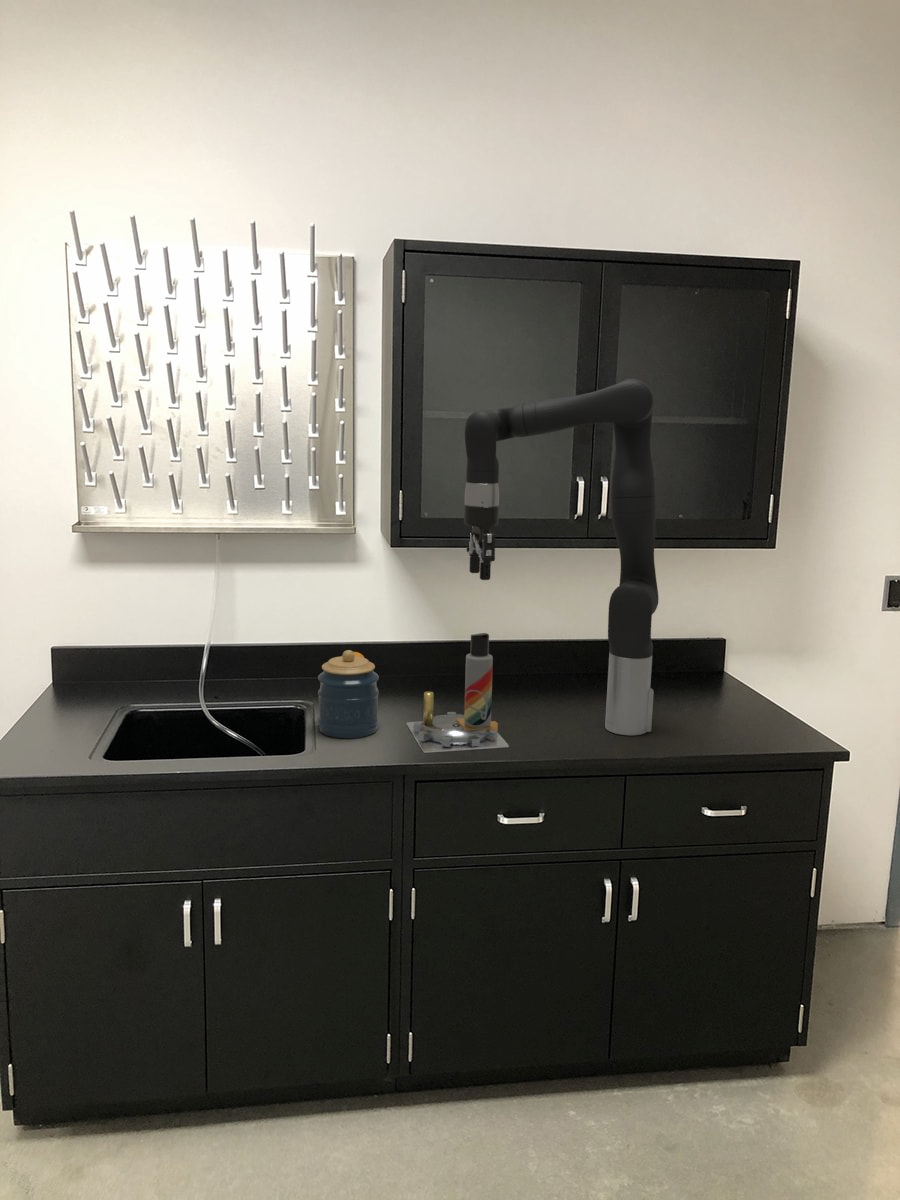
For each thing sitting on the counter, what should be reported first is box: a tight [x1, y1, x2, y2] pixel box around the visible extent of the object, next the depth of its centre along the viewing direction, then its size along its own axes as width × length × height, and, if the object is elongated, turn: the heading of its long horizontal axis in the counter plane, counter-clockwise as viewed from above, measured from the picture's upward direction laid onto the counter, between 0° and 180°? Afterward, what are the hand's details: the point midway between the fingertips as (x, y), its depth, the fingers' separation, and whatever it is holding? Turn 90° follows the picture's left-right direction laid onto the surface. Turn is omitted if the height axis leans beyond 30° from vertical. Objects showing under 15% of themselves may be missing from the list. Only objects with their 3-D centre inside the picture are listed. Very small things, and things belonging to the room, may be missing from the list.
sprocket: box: [413, 691, 499, 747], centre depth 200 cm, size 18×18×8 cm
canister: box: [317, 649, 380, 739], centre depth 201 cm, size 13×13×18 cm
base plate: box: [406, 720, 510, 754], centre depth 201 cm, size 18×18×1 cm
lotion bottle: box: [463, 632, 494, 728], centre depth 198 cm, size 6×6×20 cm
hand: (479, 576), depth 208 cm, fingers open, 8 cm apart
